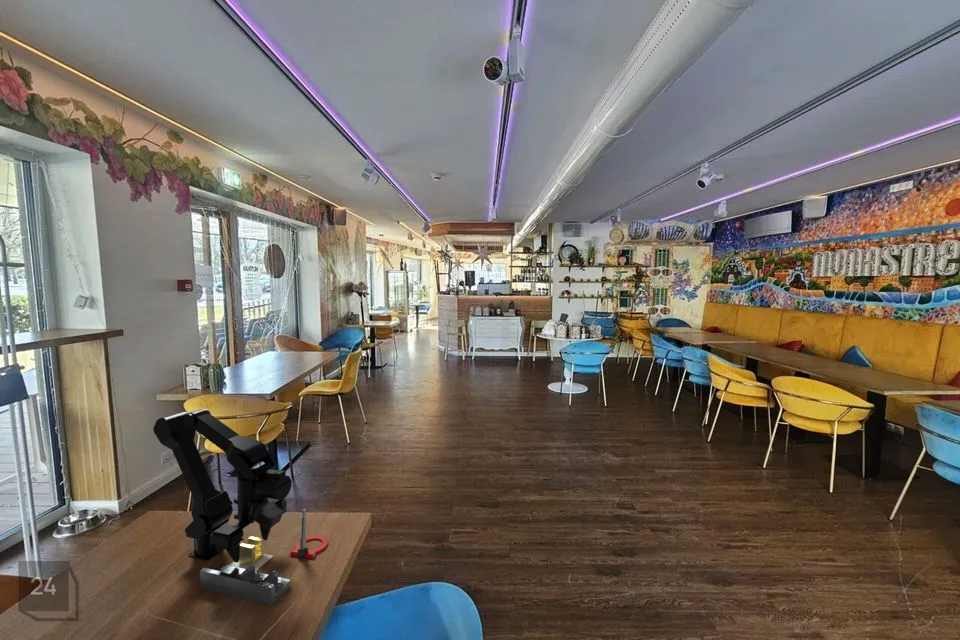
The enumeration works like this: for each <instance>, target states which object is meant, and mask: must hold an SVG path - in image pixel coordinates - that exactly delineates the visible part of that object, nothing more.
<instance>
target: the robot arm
mask: <svg viewBox="0 0 960 640" xmlns="http://www.w3.org/2000/svg"><path fill="white" fill-rule="evenodd" d="M152 429H153V434H154V435H155V436H156V438H157V440H158V441H159V443H160V444H161V445H162V446H164V447H166V448H168V449H170V450H171V451H172V453H173V456H174V457H175V460H176V462H177V465H178V466H179V469H180V471H181V474H182V476H183V478H184V480H185V483H186V484H187V487H188V489H189V492H190V494H191V496H192V499H193V501H192V509H191V516H192V521H191V522H190V523H189V524H188V525H187V526H186V527H185V528H184V532H185V536H186V538H189V539H193V548H194V549H193V551H192V552H189V554H188V557H190V558H193V559H194V558H195V559H199V560H204V561H209V560H211V559H212V558H214V557H215V556H216V555H218V554H219V553H220V552H222V551H223V550H225V551H226V552H227V554H228V555H229V557H230V558H231V560H232V562H236V563H238V562H239V557H240V544H241V543H243V542H244V539H245V538H243V536H244V529H246V528H247V527H250V525H252V524H254V523H256V524H258V525H259V526H258V527H259V529H260V535H261V538H262V539H264V542H266V541H267V540H268V538H269V535H270V532H271V529H272V528H273V527H274V526H275V525H276V524H278V523H280V522H281V519H282V516H283V515H284V514H285V513H287V511H288V510H287V507H288V505H287V499H285V498H287V496H288V495H289V494H290V493H291V489H292V486H293V485H292V484H293V482H292V479H291V477H290V476H289V475H286V474H287V473H286V471H285V470H278V469H277V470H275V469H274V468H276V467H277V463H276V462H275V461H274V458H273V457H272V456H271V453H270V452H269V451H268V449H267V446H266V445H265V444H264V443H263V442H262V441H260V440H258V439H255V438H253V437H249V436H242V435H241V434H239V433H238V432H237V431H234V430H233V429H232V428H231V427H229V426H228V425H226V423H223V421H221V420H219V419H218V418H216V417H215V416H214V415H212V413H211V411H210V410H208V409H207V408H201V409H197V410H193V411H191V412H187V411H180V412H177V413H174V414H169V415H167V416H164V417H163V416H162V417H160V418H157V420H156V421H155V423H154V425H153V428H152ZM196 433H198V434H200V435H201V436H202V437H204V438H205V439H207V440H208V441H209V442H210V443H212V444H213V445H214V446H215V447H217V448H219V449H220V450H221V451H223V452H224V454H225V456H226V461H227V462H228V463H229V464H230V465H231V466H232V467H233V471H231V472H230V473H229V475H230V476H231V477H235V478H236V481H237V483H236V484H237V486H236V487H237V488H236V489H237V491H236V492H237V497H235V498H233V501H232V500H231V498H230V496H229V493H228V492H227V491H225V490H224V491H222V492H221V491H219V490H218V489H216V487H215V485H214V483H213V480H212V479H211V476H210V474H209V471H208V469H207V467H206V465H205V463H204V460H203V458H202V456H201V454H200V452H199V449H198V447H197V445H196V443H195V437H196ZM262 463H263V464H262ZM261 464H262V465H261ZM258 465H260V466H258ZM256 466H258V467H256ZM255 467H256V468H255ZM233 504H236V505H237V512H236V513H234V515H233V519H234V520H238V522H237V523H235V524H230V523H229V521H230V519H231V516H232V513H233V512H234V507H233Z"/></svg>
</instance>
